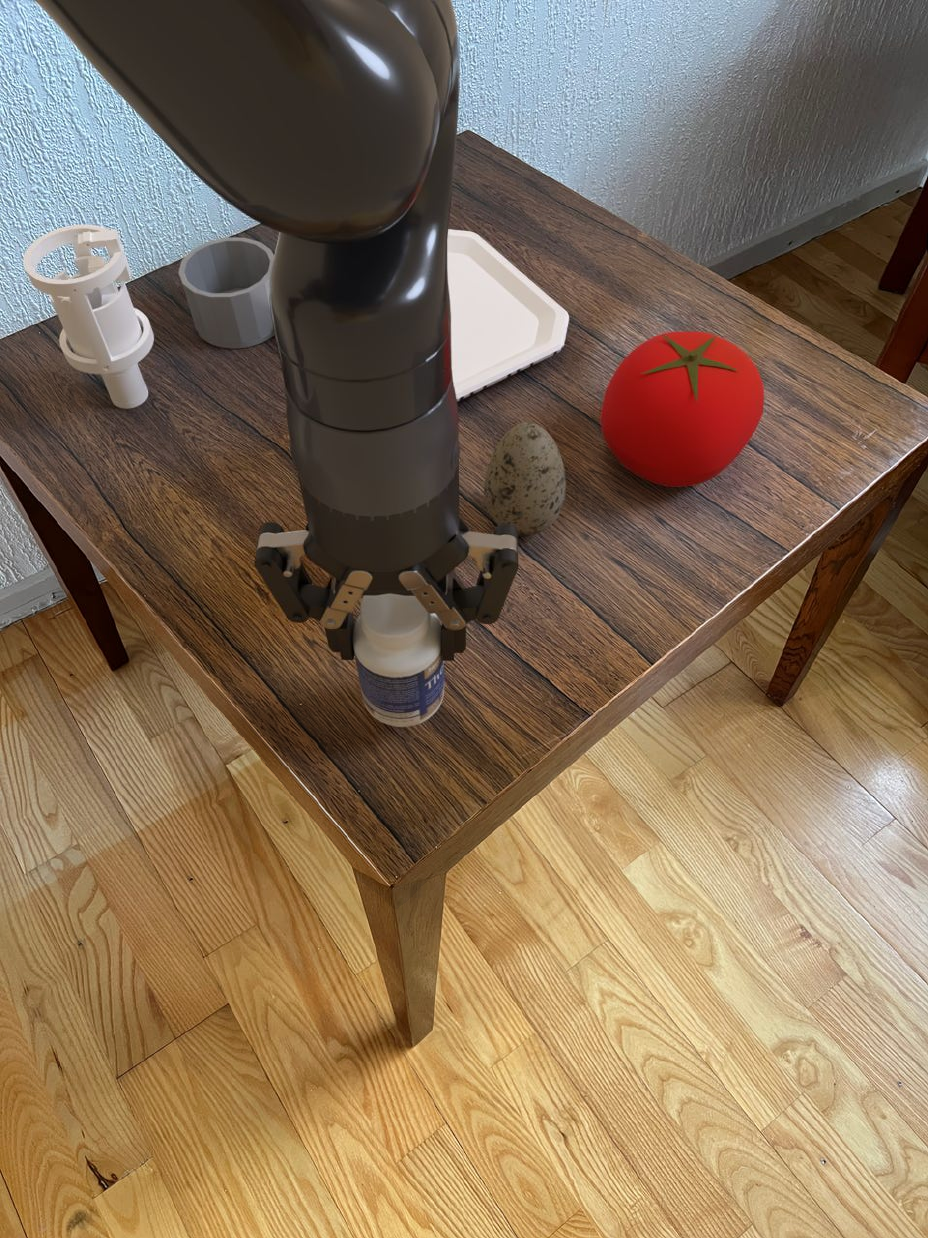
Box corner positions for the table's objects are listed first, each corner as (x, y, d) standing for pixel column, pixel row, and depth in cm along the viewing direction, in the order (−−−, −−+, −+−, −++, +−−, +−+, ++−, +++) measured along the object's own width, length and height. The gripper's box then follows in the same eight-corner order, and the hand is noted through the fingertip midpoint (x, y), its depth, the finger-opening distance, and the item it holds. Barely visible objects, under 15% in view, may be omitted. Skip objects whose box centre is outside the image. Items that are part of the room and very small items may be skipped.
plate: (590, 351, 84) (592, 330, 82) (389, 450, 78) (387, 430, 76) (457, 234, 93) (457, 213, 92) (270, 313, 87) (265, 293, 85)
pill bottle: (443, 730, 61) (440, 648, 53) (359, 729, 61) (343, 646, 53) (446, 658, 64) (443, 569, 56) (365, 657, 64) (351, 568, 56)
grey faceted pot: (187, 349, 85) (171, 296, 80) (202, 289, 89) (187, 237, 85) (280, 348, 85) (268, 296, 80) (290, 289, 89) (280, 236, 85)
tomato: (569, 469, 76) (581, 366, 67) (649, 384, 81) (669, 278, 73) (694, 535, 72) (723, 435, 63) (769, 441, 78) (806, 336, 69)
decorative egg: (558, 492, 75) (569, 396, 66) (564, 552, 71) (576, 459, 63) (482, 494, 75) (483, 398, 66) (485, 554, 71) (486, 461, 63)
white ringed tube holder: (173, 418, 80) (116, 261, 67) (87, 431, 79) (14, 275, 67) (170, 362, 84) (116, 204, 71) (88, 374, 83) (19, 217, 71)
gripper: (531, 393, 46) (516, 598, 60) (232, 391, 46) (286, 596, 60) (536, 513, 42) (518, 703, 56) (207, 511, 42) (272, 701, 56)
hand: (398, 647), depth 58 cm, fingers closed on pill bottle, 5 cm apart
